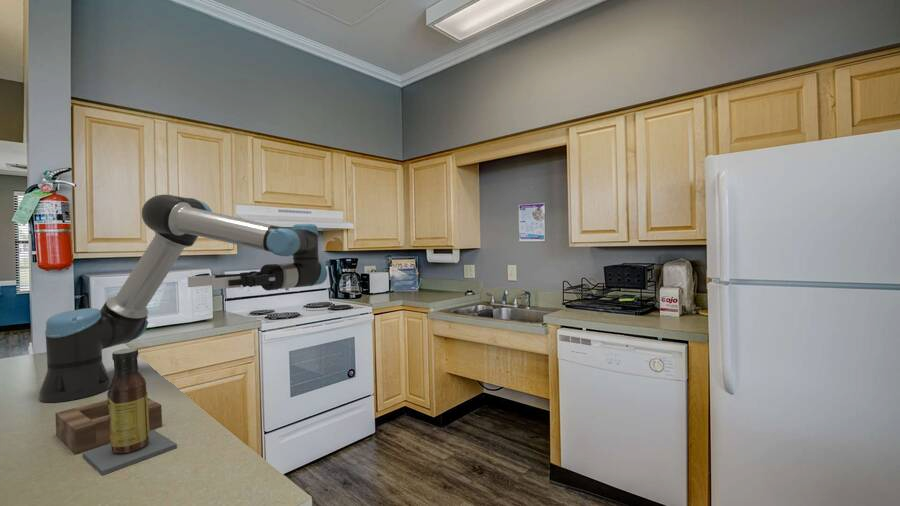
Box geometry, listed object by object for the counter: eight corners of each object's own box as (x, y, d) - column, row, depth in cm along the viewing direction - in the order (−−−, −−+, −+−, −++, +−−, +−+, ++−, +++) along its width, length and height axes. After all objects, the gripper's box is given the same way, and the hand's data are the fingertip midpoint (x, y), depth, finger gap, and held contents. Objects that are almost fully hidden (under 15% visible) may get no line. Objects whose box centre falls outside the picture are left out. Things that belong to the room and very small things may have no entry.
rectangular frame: (56, 435, 91) (55, 413, 91) (137, 412, 103) (136, 392, 103) (75, 454, 82) (74, 429, 82) (162, 426, 94) (161, 404, 94)
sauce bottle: (125, 441, 85) (121, 346, 85) (157, 439, 86) (153, 345, 85) (101, 457, 79) (97, 354, 78) (135, 455, 79) (131, 353, 79)
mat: (82, 456, 81) (82, 452, 81) (153, 433, 91) (153, 429, 91) (102, 475, 74) (102, 471, 74) (176, 447, 84) (176, 443, 84)
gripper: (304, 291, 113) (225, 300, 96) (255, 287, 128) (179, 295, 111) (303, 264, 113) (224, 268, 96) (254, 263, 128) (178, 267, 111)
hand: (200, 283), depth 103 cm, fingers open, 13 cm apart
